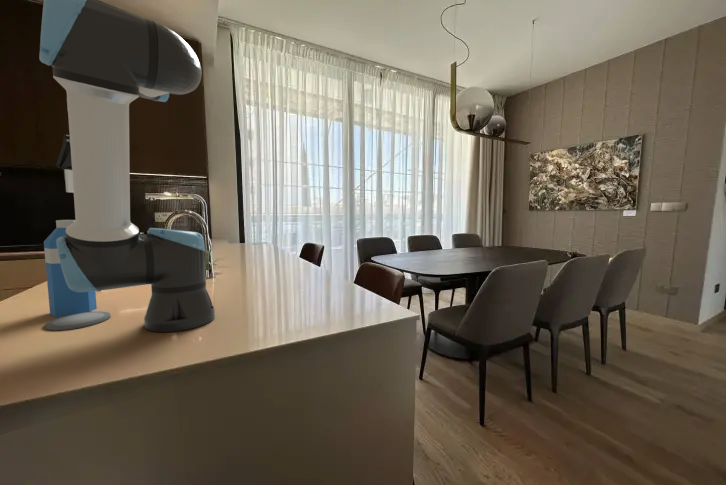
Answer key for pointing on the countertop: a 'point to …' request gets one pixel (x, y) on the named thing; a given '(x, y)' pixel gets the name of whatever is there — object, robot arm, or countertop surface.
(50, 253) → the water bottle
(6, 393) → the countertop surface
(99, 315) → the coaster
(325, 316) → the countertop surface
